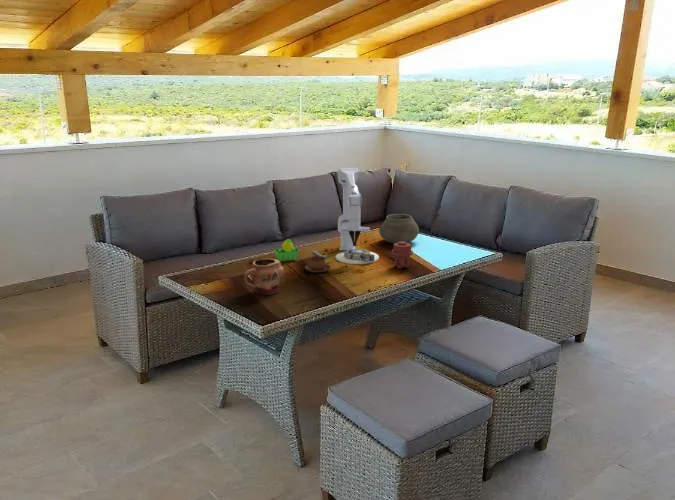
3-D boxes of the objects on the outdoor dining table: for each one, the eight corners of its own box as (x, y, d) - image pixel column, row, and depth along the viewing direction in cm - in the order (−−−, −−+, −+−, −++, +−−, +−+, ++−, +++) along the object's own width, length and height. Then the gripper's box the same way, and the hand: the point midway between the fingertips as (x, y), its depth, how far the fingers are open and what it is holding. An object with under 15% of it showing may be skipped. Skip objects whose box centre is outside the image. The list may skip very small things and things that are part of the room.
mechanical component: (391, 263, 299) (411, 264, 298) (391, 269, 289) (412, 270, 288) (392, 239, 296) (412, 239, 295) (391, 244, 286) (413, 245, 285)
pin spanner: (312, 252, 320) (312, 248, 320) (318, 251, 322) (318, 247, 321) (321, 259, 308) (321, 254, 308) (327, 258, 310) (327, 254, 309)
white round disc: (338, 251, 321) (338, 244, 320) (380, 252, 318) (380, 245, 317) (332, 263, 300) (332, 256, 299) (377, 264, 297) (377, 257, 296)
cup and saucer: (299, 270, 289) (299, 258, 288) (318, 265, 298) (317, 253, 296) (317, 276, 281) (316, 263, 280) (335, 270, 289) (335, 258, 288)
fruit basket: (295, 256, 313) (295, 235, 310) (300, 261, 305) (299, 239, 302) (274, 258, 309) (273, 237, 306) (277, 263, 301) (277, 241, 298)
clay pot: (407, 249, 324) (407, 222, 320) (372, 244, 335) (372, 217, 331) (424, 240, 341) (425, 214, 337) (391, 236, 352) (391, 210, 348)
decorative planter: (256, 302, 248) (254, 269, 244) (237, 295, 256) (235, 264, 252) (291, 289, 262) (290, 258, 259) (271, 284, 270) (270, 254, 266)
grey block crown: (343, 261, 299) (343, 253, 298) (345, 252, 316) (345, 244, 314) (369, 261, 298) (369, 254, 297) (370, 252, 315) (370, 245, 313)
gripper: (339, 220, 291) (339, 247, 295) (369, 220, 291) (369, 248, 295) (339, 217, 298) (340, 244, 302) (369, 217, 298) (369, 244, 301)
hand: (354, 245), depth 299 cm, fingers closed
